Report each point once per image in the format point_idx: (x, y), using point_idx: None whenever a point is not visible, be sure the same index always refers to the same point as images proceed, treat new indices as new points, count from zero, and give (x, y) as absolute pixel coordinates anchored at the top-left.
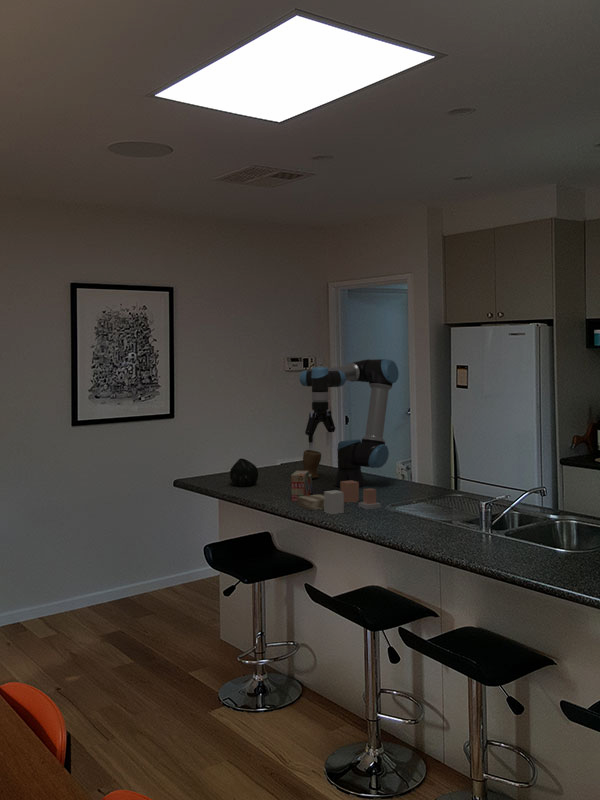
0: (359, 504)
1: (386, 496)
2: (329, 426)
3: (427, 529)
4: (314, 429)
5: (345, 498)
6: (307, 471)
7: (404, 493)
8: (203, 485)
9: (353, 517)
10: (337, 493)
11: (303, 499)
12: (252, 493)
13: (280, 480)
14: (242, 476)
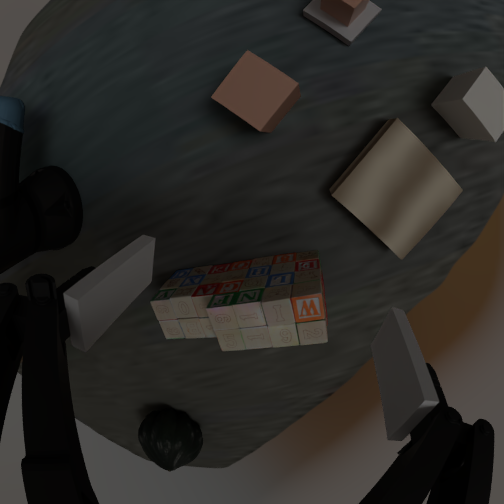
0: (354, 39)
1: (146, 33)
2: (52, 364)
3: None
4: (435, 459)
5: (291, 105)
6: (221, 309)
7: (96, 20)
8: (215, 462)
9: (480, 47)
10: (502, 87)
11: (431, 226)
12: (253, 397)
13: (96, 370)
14: (196, 439)
